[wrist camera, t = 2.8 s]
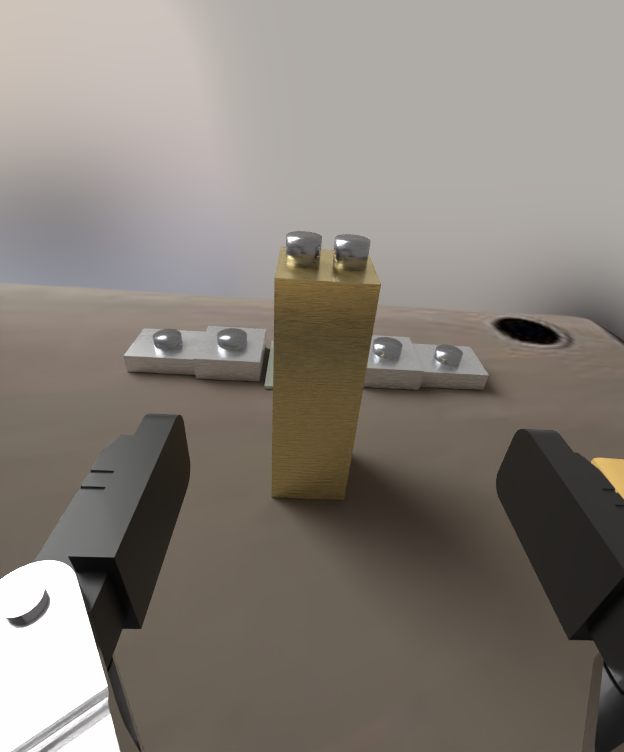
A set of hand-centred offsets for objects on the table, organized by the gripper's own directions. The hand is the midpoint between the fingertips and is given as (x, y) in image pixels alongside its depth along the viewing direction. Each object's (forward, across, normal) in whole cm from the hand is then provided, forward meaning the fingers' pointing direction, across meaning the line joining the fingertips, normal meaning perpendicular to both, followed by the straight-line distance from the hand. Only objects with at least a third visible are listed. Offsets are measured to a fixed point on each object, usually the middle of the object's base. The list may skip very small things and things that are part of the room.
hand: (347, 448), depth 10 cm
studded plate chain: (+24, 0, +13) cm, 28 cm away
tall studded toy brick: (+12, 0, +13) cm, 17 cm away
